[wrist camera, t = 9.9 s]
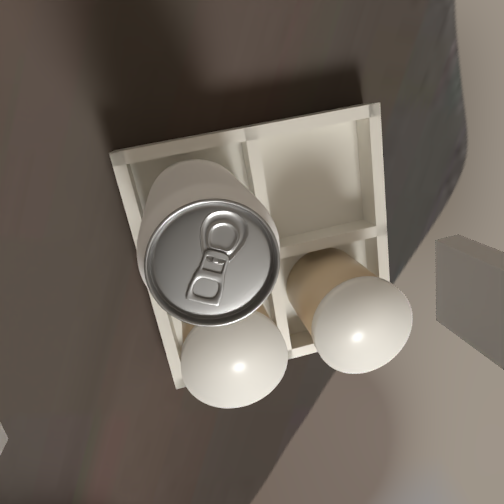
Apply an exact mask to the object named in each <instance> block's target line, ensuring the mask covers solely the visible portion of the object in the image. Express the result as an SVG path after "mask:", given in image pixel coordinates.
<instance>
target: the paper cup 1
mask: <svg viewBox="0 0 504 504" xmlns="http://www.w3.org/2000/svg"><path fill="white" fill-rule="evenodd" d="M181 322H182V321H181ZM182 338H183V346H182V350H181V356H180V359H181V374H182V378H183V381H184V383H185V385H186V387H187V389H188V390H189V391H190V392H191V394H193V395H194V396H195V397H196V398H197V399H199V400H200V401H202V402H204V403H206V404H208V405H211V406H214V407H219V408H238V407H243V406H246V405H249V404H252V403H254V402H257V401H259V400H260V399H262V398H264V397H265V396H266V395H268V394H269V393H270V392H271V391H272V390H273V389H274V388H275V387H276V386H277V385H278V383H279V382H280V380H281V379H282V377H283V375H284V373H285V370H286V367H287V362H288V350H287V345H286V342H285V340H284V338H283V336H282V334H281V332H280V330H279V328H278V327H277V326H276V324H275V323H274V322H273V321H272V320H271V319H270V317H269V315H268V313H267V311H266V309H265V307H264V305H263V304H262V305H261V306H260V307H259V308H258V309H257V310H255V311H254V312H253V313H251V314H250V315H248V316H247V317H245V318H243V319H241V320H239V321H237V322H234V323H231V324H227V325H223V326H216V327H203V326H196V325H191V324H188V323H185V322H182Z"/></svg>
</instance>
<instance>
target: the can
mask: <svg viewBox="0 0 504 504" xmlns="http://www.w3.org/2000/svg"><path fill="white" fill-rule="evenodd" d="M137 262H138V267H139V271H140V274H141V277H142V279H143V281H144V283H145V285H146V287H147V288H148V290H149V291H150V293H151V294H152V296H153V298H154V299H155V301H156V302H157V303H158V304H159V305H160V307H161V308H162V309H164V310H165V311H166V312H167V313H168V314H170V315H171V316H173V317H174V318H176V319H178V320H180V321H182V322H185V323H188V324H191V325H196V326H203V327H216V326H223V325H227V324H231V323H234V322H237V321H239V320H241V319H243V318H245V317H247V316H248V315H250V314H251V313H253V312H254V311H255V310H257V309H258V308H259V307H260V306H261V305H262V304H263V303H264V302H265V300H266V299H267V298H268V296H269V295H270V293H271V292H272V290H273V288H274V286H275V283H276V281H277V278H278V274H279V269H280V242H279V236H278V232H277V228H276V226H275V223H274V221H273V219H272V217H271V215H270V214H269V212H268V210H267V209H266V208H265V207H264V205H263V204H262V203H261V202H260V201H259V200H258V199H257V198H256V197H255V196H254V195H253V194H252V193H251V192H250V191H249V190H248V189H247V188H246V187H245V186H244V185H243V184H242V183H241V182H240V181H239V180H238V179H237V178H236V177H235V176H234V175H232V174H231V173H230V172H229V171H228V170H227V169H226V168H224V167H223V166H221V165H220V164H218V163H215V162H212V161H209V160H204V159H186V160H182V161H179V162H176V163H174V164H172V165H170V166H169V167H167V168H166V169H165V170H164V171H162V172H161V173H160V174H159V176H158V177H157V178H156V180H155V181H154V183H153V185H152V187H151V189H150V192H149V195H148V198H147V202H146V206H145V209H144V213H143V217H142V221H141V225H140V229H139V234H138V240H137Z"/></svg>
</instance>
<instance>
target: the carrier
mask: <svg viewBox="0 0 504 504" xmlns="http://www.w3.org/2000/svg"><path fill="white" fill-rule="evenodd" d="M109 155H110V159H111V162H112V166H113V169H114V173H115V176H116V180H117V183H118V187H119V190H120V194H121V197H122V201H123V204H124V208H125V211H126V215H127V218H128V222H129V225H130V229H131V232H132V236H133V239H134V243H135V246H136V250H137V240H138V234H139V229H140V225H141V221H142V217H143V213H144V209H145V206H146V202H147V198H148V195H149V192H150V189H151V187H152V185H153V183H154V181H155V180H156V178H157V177H158V176H159V174H160V173H161V172H162V171H164V170H165V169H166V168H167V167H169V166H170V165H172V164H174V163H176V162H179V161H182V160H186V159H204V160H209V161H212V162H215V163H218V164H220V165H221V166H223V167H224V168H226V169H227V170H228V171H229V172H230V173H231V174H232V175H234V176H235V177H236V178H237V179H238V180H239V181H240V182H241V183H242V184H243V185H244V186H245V187H246V188H247V189H248V190H249V191H250V192H251V193H252V194H253V195H254V196H255V197H256V198H257V199H258V200H259V201H260V202H261V203H262V204H263V205H264V207H265V208H266V209H267V210H268V212H269V214H270V215H271V217H272V219H273V221H274V223H275V226H276V228H277V232H278V236H279V242H280V269H279V274H278V278H277V281H276V283H275V286H274V288H273V290H272V292H271V293H270V295H269V296H268V298H267V299H266V300H265V302H264V303H263V305H264V307H265V309H266V311H267V313H268V315H269V317H270V319H271V320H272V321H273V322H274V323H275V324H276V326H277V327H278V328H279V330H280V332H281V334H282V336H283V338H284V340H285V342H286V345H287V350H288V359H292V358H296V357H300V356H303V355H307V354H311V353H315V352H318V351H317V349H316V348H315V346H314V343H313V340H312V336H311V334H310V333H309V331H308V330H307V328H306V327H305V325H304V324H303V322H302V321H301V319H300V318H299V316H298V314H297V313H296V311H295V310H294V308H293V307H292V305H291V304H290V302H289V299H288V296H287V290H286V286H287V279H288V276H289V273H290V271H291V269H292V268H293V266H294V265H295V264H296V262H297V261H298V260H299V259H300V258H301V257H303V256H304V255H305V254H307V253H309V252H313V251H317V250H321V249H326V248H336V249H340V250H342V251H344V252H346V253H347V254H348V255H350V256H351V257H352V258H354V259H355V260H356V261H358V262H359V263H360V264H362V265H363V266H364V267H365V268H367V269H368V270H369V271H371V272H372V273H373V274H375V275H376V276H377V277H379V278H382V279H385V280H387V281H388V282H390V278H389V259H388V241H387V222H386V203H385V185H384V166H383V148H382V129H381V110H380V103H365V104H358V105H353V106H348V107H342V108H337V109H332V110H326V111H321V112H316V113H310V114H305V115H300V116H294V117H289V118H284V119H278V120H273V121H268V122H262V123H257V124H251V125H246V126H241V127H235V128H230V129H225V130H219V131H214V132H209V133H203V134H198V135H193V136H187V137H182V138H177V139H171V140H166V141H161V142H155V143H150V144H144V145H139V146H134V147H128V148H123V149H118V150H114V151H112V152H110V153H109ZM148 292H149V295H150V299H151V302H152V306H153V309H154V313H155V316H156V320H157V323H158V327H159V330H160V334H161V337H162V341H163V344H164V348H165V351H166V355H167V358H168V362H169V365H170V369H171V372H172V376H173V379H174V383H175V386H176V389H179V388H183V387H186V385H185V383H184V381H183V378H182V374H181V359H180V356H181V350H182V346H183V338H182V322H181V321H180V320H178V319H176V318H174V317H173V316H171V315H170V314H168V313H167V312H166V311H165V310H164V309H162V308H161V307H160V305H159V304H158V303H157V302H156V301H155V299H154V298H153V296H152V294H151V293H150V291H149V290H148Z"/></svg>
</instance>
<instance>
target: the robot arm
mask: <svg viewBox="0 0 504 504" xmlns="http://www.w3.org/2000/svg"><path fill="white" fill-rule="evenodd" d="M435 243H436V320H437V321H438V322H439V323H441V324H442V325H444V326H445V327H446V328H448V329H449V330H450V331H452V332H453V333H455V334H456V335H457V336H459V337H460V338H461V339H463V340H464V341H465V342H467V343H468V344H469V345H471V346H472V347H473V348H475V349H476V350H478V351H479V352H480V353H482V354H483V355H484V356H486V357H487V358H489V359H490V360H491V361H493V362H494V363H495V364H497V365H498V366H499V367H501V368H502V369H503V370H504V252H501V251H499V250H497V249H494V248H492V247H489V246H487V245H484V244H481V243H479V242H476V241H474V240H471V239H468V238H466V237H464V236H461V235H454V236H450V237H446V238H442V239H438V240H435ZM7 440H8V437H7V435H6V433H5V431H4V429H3V427H2V425H1V423H0V455H1V453H2V451H3V449H4V447H5V444H6V442H7Z"/></svg>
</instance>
